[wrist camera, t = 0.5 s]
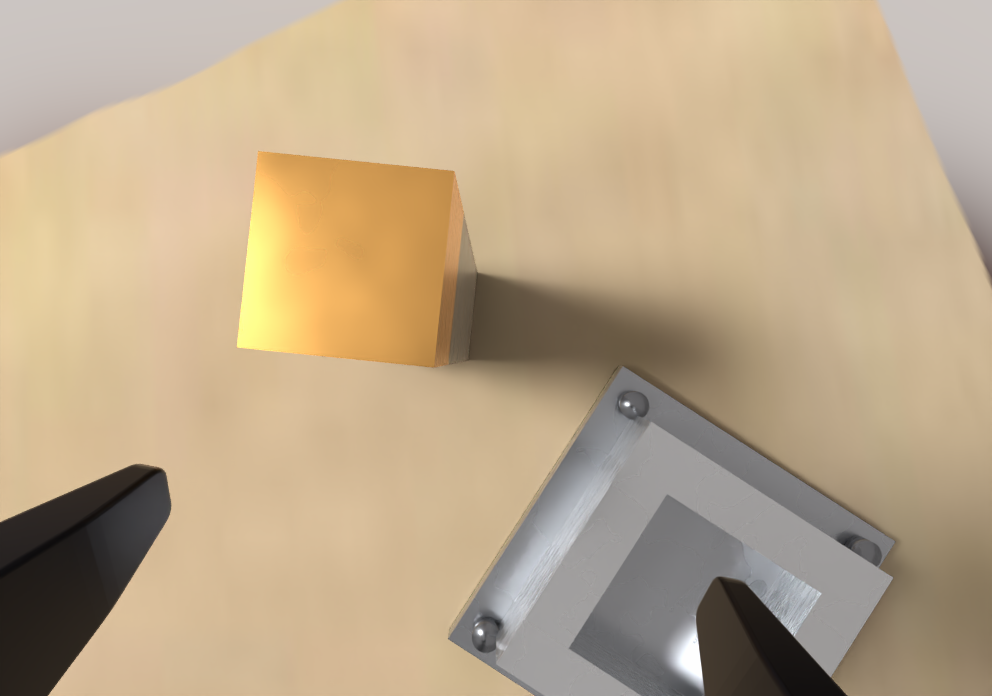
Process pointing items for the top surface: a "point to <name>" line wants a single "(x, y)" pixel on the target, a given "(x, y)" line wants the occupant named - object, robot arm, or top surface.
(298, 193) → the orange and grey post
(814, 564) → the metal post socket
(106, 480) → the robot arm
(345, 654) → the top surface
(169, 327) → the top surface
